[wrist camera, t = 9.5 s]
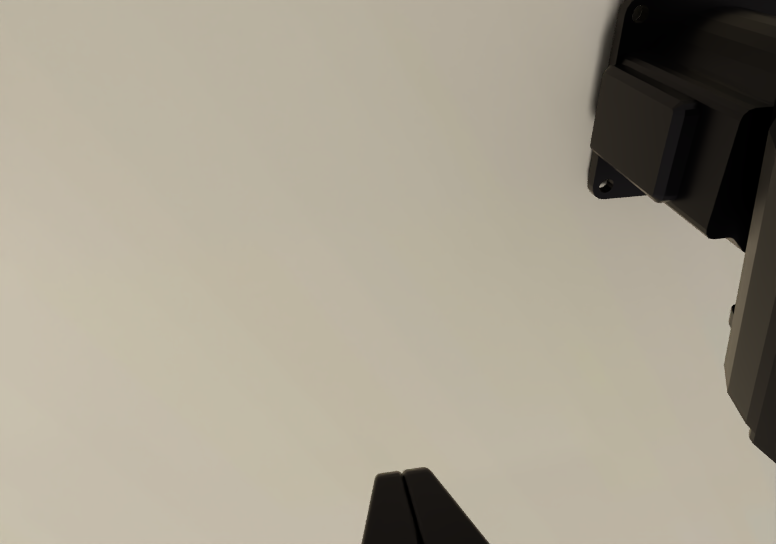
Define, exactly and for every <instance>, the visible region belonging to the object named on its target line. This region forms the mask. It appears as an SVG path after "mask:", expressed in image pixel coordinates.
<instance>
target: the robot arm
mask: <svg viewBox="0 0 776 544" xmlns="http://www.w3.org/2000/svg"><path fill="white" fill-rule="evenodd" d="M640 5H641V7H642V12H641V15H640V16H639V17H638V18H637V19H636V20H634V21H633V18H632V14H633V12H634V10H635V9H636V8H637V7H638V6H640ZM590 147H591V148H592V150H593V155H592V160H591V166H590V171H589V177H588V189H589V191H590V192H591V193H592V194H593V195H594V196H595V197H597V198H599V199H610V198H621V197H632V196H643V195H648V196H649V197H650V198H651V199H652V200H654V201H655V202H657V203H663V202H664V203H665V204H666V205H668V206H669V207H670V208H671V209H673V210H674V211H675V212H676V213H678V214H679V215H680V216H681V217H683V218H684V219H685V220H687V221H688V222H689V223H690V224H692V225H693V226H694V227H695V228H697V229H698V230H699V231H700V232H702V233H703V234H704V235H705V236H707V237H708V238H710V239H720V238H726V239H728V240H729V241H730V242H731V243H733V244H734V245H735V246H737V247H738V248H739V249H741V250H742V251H743V252H745V257H744V263H743V268H742V273H741V278H740V284H739V289H738V294H737V299H736V304H735V305H733V306H732V307H731V312H730V318H729V325H730V327H731V331H730V336H729V342H728V347H727V352H726V357H725V363H724V368H725V377H726V385H727V393H728V394H729V396H730V398H731V399H732V401H733V403H734V404H735V406H736V408H737V409H738V411H739V413H740V415H741V416H742V418H743V420H744V421H745V423H746V424H747V425H748V426H749V427H750V430H749V438H750V440H751V441H752V443H753V444H754V445H755V446H757V447H758V448H759V449H760V450H761V451H762V452H763V453H765V454H766V455H767V456H768V457H769V458H770V459H771V460H773V461H774V462H775V463H776V0H624V2H623V3H622V4H621V6H620V9H619V12H618V16H617V22H616V27H615V33H614V38H613V44H612V49H611V55H610V60H609V66H608V68H607V69H606V70H605V72H604V73H603V76H602V81H601V87H600V93H599V98H598V104H597V110H596V115H595V121H594V127H593V132H592V138H591V144H590ZM606 179H608V182H607V184H606V185H605V186H604V187H601V188H599V186H600V184H601V182H603V181H604V180H606ZM362 544H489V542H488V541H487V540H486V539H485V537H484V536H483V535H482V534H481V532H480V531H479V530H478V529H477V528H476V526H475V525H474V524H473V523H472V521H471V520H470V519H469V518H468V516H467V515H466V514H465V513H464V511H463V510H462V509H461V508H460V506H459V505H458V504H457V503H456V501H455V500H454V499H453V498H452V496H451V495H450V494H449V493H448V491H447V490H446V489H445V488H444V487H443V485H442V484H441V483H440V482H439V480H438V479H437V478H436V477H435V475H434V474H433V473H432V472H431V471H430V470H429V469H428V468H426V467H421V468H414V469H407V470H404V471H403V473H402V474H401V472H399V471H393V472H387V473H380V474H378V475H377V476H376V477H375V481H374V486H373V490H372V495H371V500H370V505H369V510H368V515H367V520H366V525H365V529H364V534H363V539H362Z"/></svg>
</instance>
